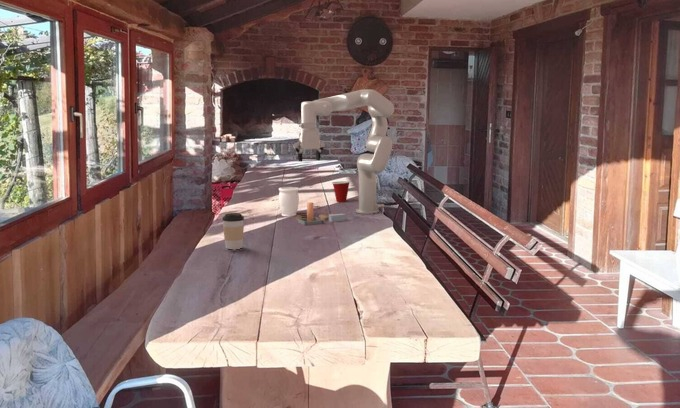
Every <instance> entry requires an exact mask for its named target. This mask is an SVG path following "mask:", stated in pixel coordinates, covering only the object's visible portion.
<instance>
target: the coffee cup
mask: <svg viewBox="0 0 680 408" xmlns="http://www.w3.org/2000/svg"><path fill="white" fill-rule="evenodd" d="M244 220H245V216H244V215H242V213H239V212H230V213H226V214H224V216H222V222H223V223H222V224H223V225H222V228H223V237H224V244H225V249H226V248H229V249H240V248H242V249H243V247H244V246H243V245H244V243H243V240H244V230H245V228H244V227H245V225H244ZM240 250H241V249H240Z"/></svg>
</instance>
